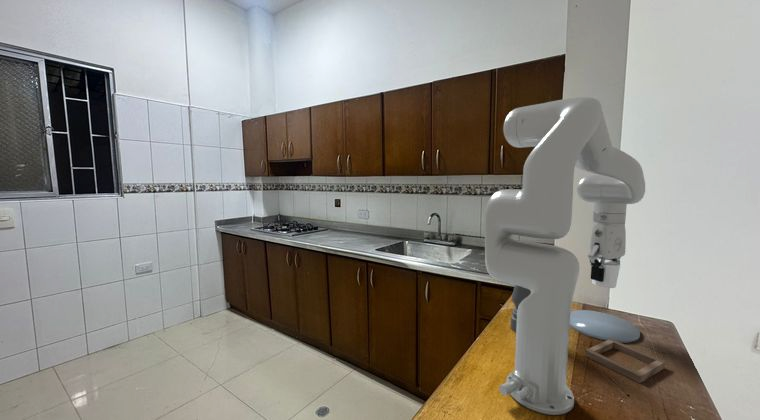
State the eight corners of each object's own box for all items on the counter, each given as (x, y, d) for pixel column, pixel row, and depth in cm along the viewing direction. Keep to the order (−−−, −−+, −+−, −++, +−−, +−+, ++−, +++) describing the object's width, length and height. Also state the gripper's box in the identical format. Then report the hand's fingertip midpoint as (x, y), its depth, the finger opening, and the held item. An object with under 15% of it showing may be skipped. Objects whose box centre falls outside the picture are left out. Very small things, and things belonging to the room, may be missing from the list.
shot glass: (623, 289, 87) (625, 265, 86) (596, 288, 88) (598, 264, 87) (610, 281, 93) (612, 258, 93) (585, 280, 95) (587, 257, 94)
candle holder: (534, 327, 92) (538, 245, 89) (532, 336, 87) (536, 249, 84) (512, 322, 96) (515, 243, 93) (508, 330, 90) (512, 247, 88)
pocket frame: (639, 383, 67) (640, 376, 67) (585, 355, 77) (585, 349, 77) (664, 368, 72) (665, 361, 72) (610, 344, 83) (610, 338, 82)
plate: (618, 349, 80) (618, 345, 80) (552, 320, 96) (553, 317, 96) (652, 332, 88) (652, 329, 88) (586, 308, 104) (587, 306, 104)
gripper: (606, 222, 81) (601, 287, 83) (640, 217, 89) (634, 277, 91) (577, 219, 88) (573, 279, 90) (611, 214, 96) (606, 270, 98)
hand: (604, 277), depth 91 cm, fingers closed on shot glass, 6 cm apart
